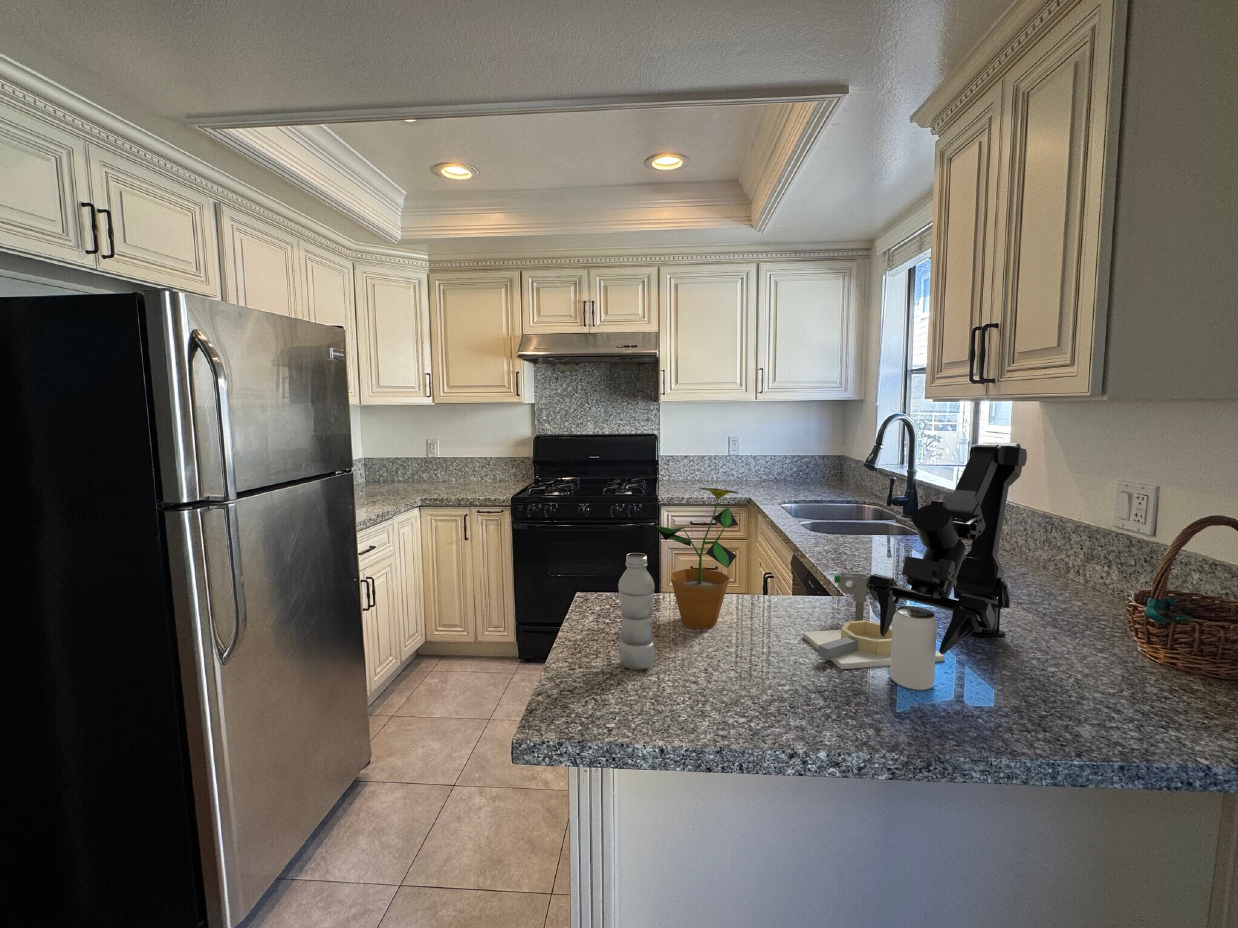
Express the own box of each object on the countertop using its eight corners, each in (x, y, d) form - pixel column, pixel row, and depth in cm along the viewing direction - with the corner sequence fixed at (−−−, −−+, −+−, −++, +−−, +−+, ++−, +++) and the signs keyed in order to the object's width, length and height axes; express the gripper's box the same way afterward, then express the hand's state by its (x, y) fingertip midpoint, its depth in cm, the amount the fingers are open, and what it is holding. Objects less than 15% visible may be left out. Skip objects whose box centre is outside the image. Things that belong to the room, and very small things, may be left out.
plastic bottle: (630, 678, 92) (629, 562, 91) (612, 662, 98) (611, 553, 97) (662, 669, 95) (662, 557, 94) (643, 654, 101) (642, 549, 100)
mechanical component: (886, 625, 115) (888, 578, 114) (835, 621, 117) (836, 576, 116) (882, 619, 118) (884, 574, 117) (832, 616, 120) (834, 572, 119)
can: (881, 673, 94) (884, 605, 93) (917, 671, 94) (920, 604, 93) (904, 692, 87) (908, 619, 86) (943, 690, 88) (946, 618, 87)
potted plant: (761, 630, 113) (764, 485, 110) (681, 645, 105) (682, 491, 103) (714, 602, 129) (715, 476, 126) (642, 614, 122) (641, 480, 119)
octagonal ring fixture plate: (906, 629, 112) (907, 613, 112) (958, 659, 99) (959, 640, 98) (791, 637, 109) (791, 620, 108) (828, 670, 95) (829, 650, 95)
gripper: (872, 529, 98) (839, 602, 92) (993, 548, 84) (963, 636, 78) (890, 564, 104) (860, 635, 98) (1006, 588, 90) (979, 672, 84)
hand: (910, 643), depth 89 cm, fingers open, 9 cm apart
